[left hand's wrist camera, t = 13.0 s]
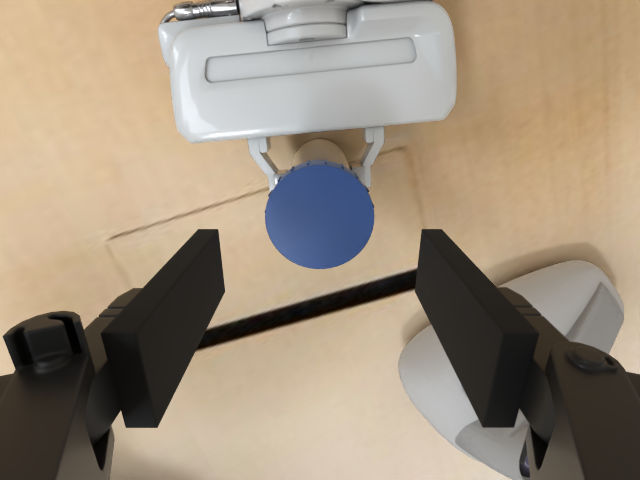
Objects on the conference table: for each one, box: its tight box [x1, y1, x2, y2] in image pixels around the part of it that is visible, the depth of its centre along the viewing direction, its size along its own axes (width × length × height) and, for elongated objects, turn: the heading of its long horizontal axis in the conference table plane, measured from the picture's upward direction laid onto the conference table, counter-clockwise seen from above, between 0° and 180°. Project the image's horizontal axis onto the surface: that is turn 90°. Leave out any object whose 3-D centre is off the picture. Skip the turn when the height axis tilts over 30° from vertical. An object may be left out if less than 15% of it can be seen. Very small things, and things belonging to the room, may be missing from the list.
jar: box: [288, 139, 351, 171], centre depth 27 cm, size 5×5×16 cm
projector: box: [398, 260, 624, 480], centre depth 35 cm, size 22×23×15 cm
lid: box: [265, 159, 374, 269], centre depth 20 cm, size 6×6×2 cm
